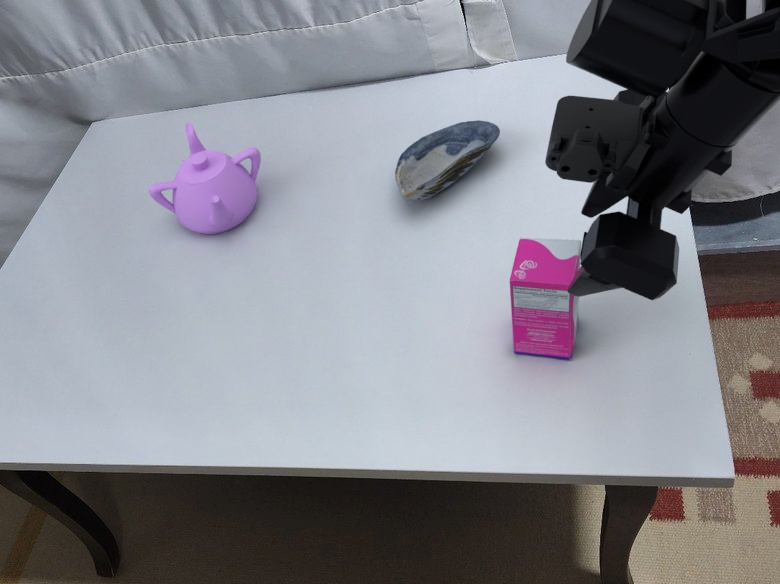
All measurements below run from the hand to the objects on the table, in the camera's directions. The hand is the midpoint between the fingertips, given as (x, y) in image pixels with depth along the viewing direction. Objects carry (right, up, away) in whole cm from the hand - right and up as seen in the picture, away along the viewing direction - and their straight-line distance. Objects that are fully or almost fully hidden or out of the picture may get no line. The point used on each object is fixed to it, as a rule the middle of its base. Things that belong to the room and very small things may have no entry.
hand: (579, 252), depth 64 cm
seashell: (-5, +14, +32) cm, 35 cm away
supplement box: (+2, -7, +14) cm, 16 cm away
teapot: (-35, +11, +38) cm, 53 cm away
